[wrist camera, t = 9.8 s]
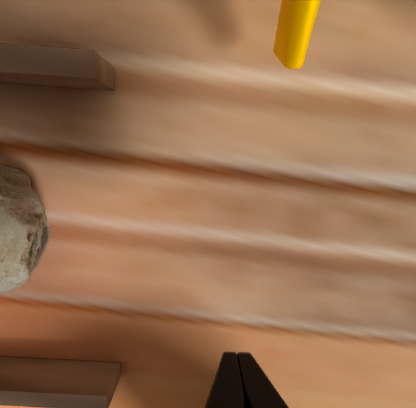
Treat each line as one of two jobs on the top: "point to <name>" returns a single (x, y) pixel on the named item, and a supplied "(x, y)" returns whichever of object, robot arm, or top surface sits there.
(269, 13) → the top surface
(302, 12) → the figure statuette
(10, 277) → the sculpture
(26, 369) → the holder
